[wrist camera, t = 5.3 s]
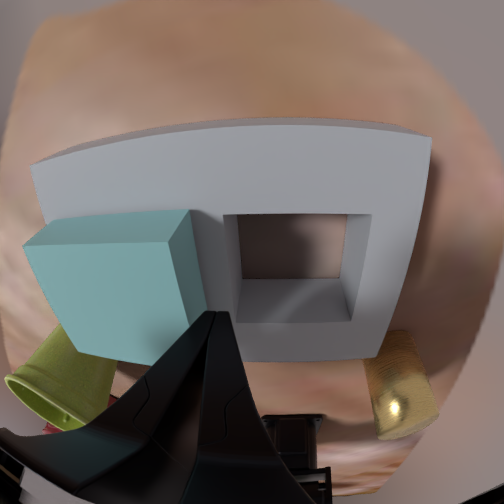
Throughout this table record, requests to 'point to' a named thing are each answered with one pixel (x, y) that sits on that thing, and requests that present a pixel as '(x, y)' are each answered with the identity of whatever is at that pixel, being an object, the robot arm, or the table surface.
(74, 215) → the jig
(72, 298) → the teal block
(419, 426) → the brass cylinder
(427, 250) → the table surface
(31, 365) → the plant pot
